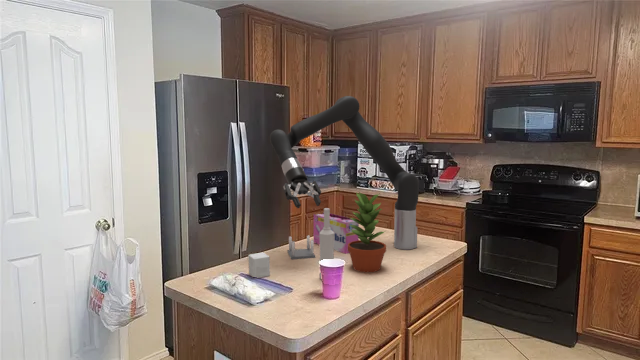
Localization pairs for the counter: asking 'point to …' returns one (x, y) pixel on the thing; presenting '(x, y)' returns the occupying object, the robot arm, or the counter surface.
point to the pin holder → (301, 250)
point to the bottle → (326, 238)
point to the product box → (259, 265)
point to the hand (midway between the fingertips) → (309, 205)
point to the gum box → (336, 231)
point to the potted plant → (366, 237)
